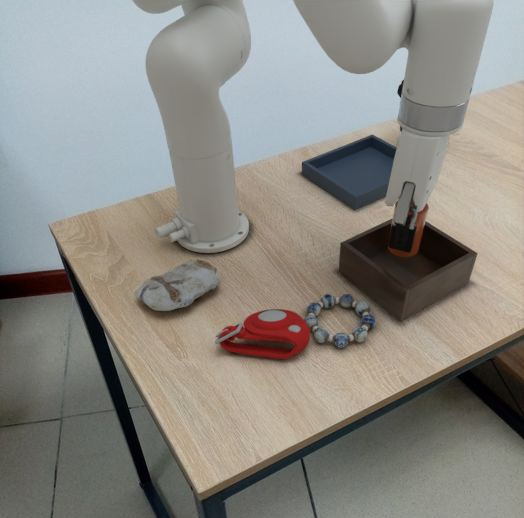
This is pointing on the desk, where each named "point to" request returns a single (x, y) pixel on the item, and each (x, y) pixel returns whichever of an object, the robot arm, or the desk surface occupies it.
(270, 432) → the desk surface
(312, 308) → the bracelet
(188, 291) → the stone
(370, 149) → the tray
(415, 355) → the desk surface
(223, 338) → the tracker holder
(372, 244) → the brown open box
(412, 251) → the orange cylinder
